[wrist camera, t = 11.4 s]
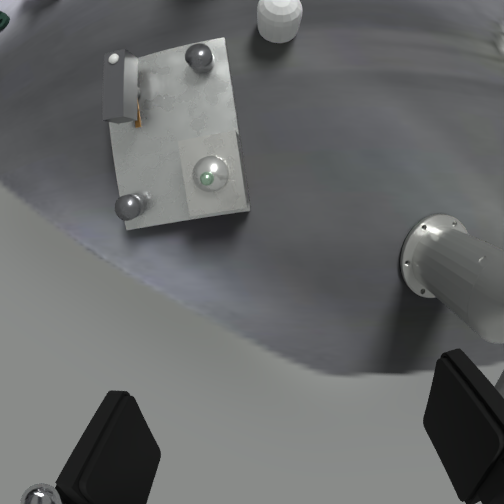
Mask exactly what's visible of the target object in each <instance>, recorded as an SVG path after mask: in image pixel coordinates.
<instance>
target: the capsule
mask: <svg viewBox="0 0 504 504" xmlns="http://www.w3.org/2000/svg"><path fill="white" fill-rule="evenodd" d="M301 18H302V5H301V3H300V1H299V0H260V1H259V3H258V7H257V24H258V31H259V33H260V35H261V36H262V37H263V38H264V39H265V40H268V41H270V42H272V43H284V42H288V41H290V40H291V39H293V38H294V37H295V35H296V34H297V32H298V29H299V25H300V21H301Z"/></svg>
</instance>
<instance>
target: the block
mask: <svg viewBox="0 0 504 504" xmlns="http://www.w3.org/2000/svg"><path fill="white" fill-rule="evenodd" d="M137 83H138V58H137V57H135V56H134V55H133V54H132V53H130V52H129V51H128V50H126V49H122V50H117V51H114V52H110V53H106V54H104V68H103V93H102V120H103V121H108V122H112V123H116V124H120V123H126V122H131V121H138V120H137V99H138V97H139V96H140V93H141V91H140V88H139V87H137Z"/></svg>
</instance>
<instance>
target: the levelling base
mask: <svg viewBox="0 0 504 504" xmlns="http://www.w3.org/2000/svg"><path fill="white" fill-rule="evenodd" d="M137 87H139V88H140V91H141V93H140V96H139V97H138V99H137V120H138V121H131V122H126V123H120V124H116V123H112V122H109V127H110V135H111V143H112V150H113V158H114V164H115V171H116V177H117V183H118V189H119V195H120V197H119V198H118V200H117V201H116V203H115V212H116V214H117V216H118V217H119V218H120V219H122V220H124V221H125V226H126V230H131V229H137V228H143V227H149V226H154V225H160V224H166V223H173V222H179V221H185V220H191V219H198V218H204V217H211V216H217V215H224V214H231V213H238V212H245V211H250V210H251V203H250V196H249V190H248V183H247V176H246V169H245V163H244V156H243V149H242V142H241V136H240V129H239V122H238V116H237V109H236V103H235V96H234V89H233V83H232V76H231V70H230V63H229V57H228V50H227V45H226V42H225V38H218V39H213V40H208V41H203V42H198V43H193V44H189V45H184V46H180V47H176V48H172V49H168V50H164V51H161V52H157V53H153V54H150V55H146V56H143V57H140V58H138V83H137Z"/></svg>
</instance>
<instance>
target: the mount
mask: <svg viewBox="0 0 504 504" xmlns="http://www.w3.org/2000/svg"><path fill="white" fill-rule="evenodd" d="M9 20H10V18H9V17H8V16H7V15H6V14H5V13H3V12H1V11H0V30H2V29H4V28H5V27H6V26H7V25H8V23H9Z"/></svg>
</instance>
